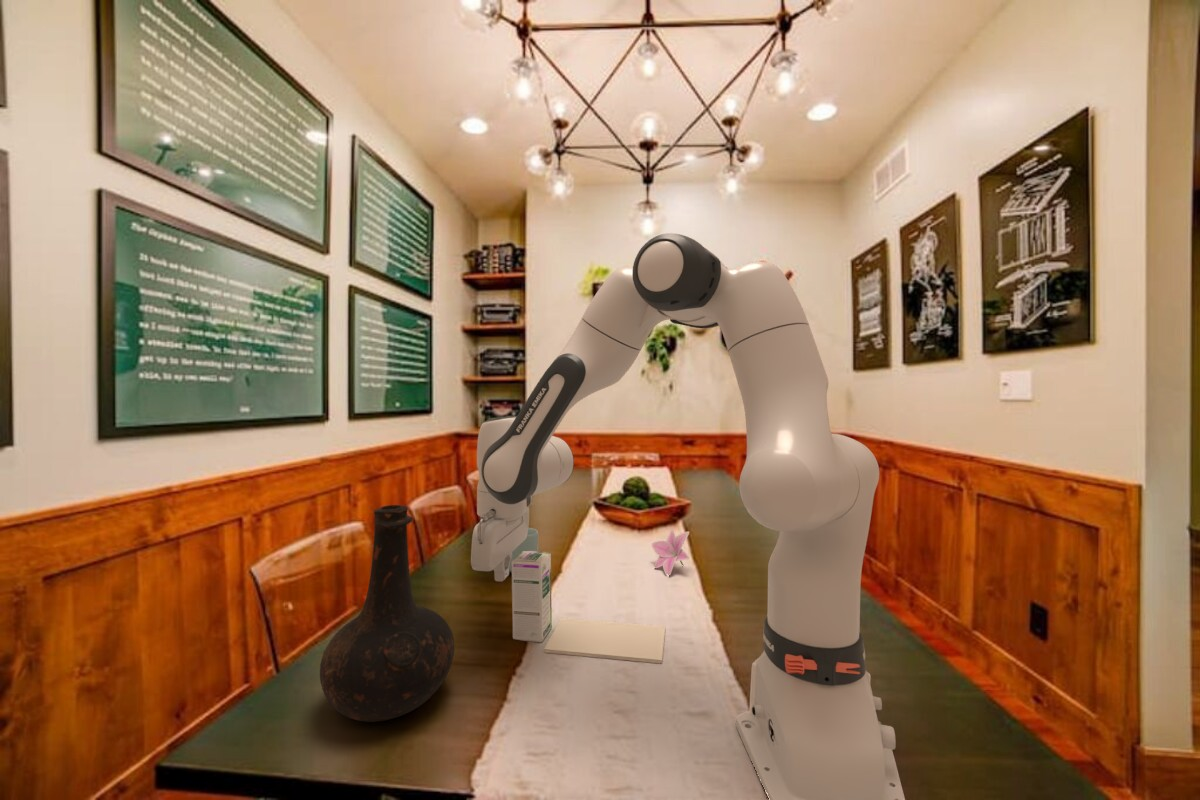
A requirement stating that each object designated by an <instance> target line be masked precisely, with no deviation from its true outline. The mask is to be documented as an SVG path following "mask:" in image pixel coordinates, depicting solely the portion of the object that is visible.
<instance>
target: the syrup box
mask: <svg viewBox="0 0 1200 800" xmlns="http://www.w3.org/2000/svg"><path fill="white" fill-rule="evenodd" d="M551 556H552V555H551V552H547V551H540V550H538V551H523V552H522V553H521V554H520V555H519V556H517V557H516V558H515V559H514V560H513V561H512V572H511V604H512V605H511V607H512V608H511V611H512V612H511V614H512V618H511V619H512V639H513V640H517V641H524V642H536V643H542V642H543V641H544V640H545V638H546V637H547V636H548V635H549V632H550V631H551V629H552V627H553V622H552V621H553V619H552V613H553V612H552V611H553V610H552V564H551V563H552V559H551V558H552V557H551Z"/></svg>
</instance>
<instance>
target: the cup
mask: <svg viewBox="0 0 1200 800" xmlns="http://www.w3.org/2000/svg"><path fill="white" fill-rule="evenodd" d="M523 551H539V531H538V529H536V528H533V527H528V534H527V537H526V539H525V540H524V541H523V542H522V543H521V544H520V545H519V546H518V547H517V548H516V549H515V550H513V551H512V558H511V562H510V566H509V573H512V561H513V560H514V559H515V558H516V557H517V556H519V555H520V554H521V553H522V552H523Z"/></svg>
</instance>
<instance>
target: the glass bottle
mask: <svg viewBox="0 0 1200 800" xmlns="http://www.w3.org/2000/svg"><path fill="white" fill-rule="evenodd" d="M408 510H409V509H408V506H406V505H401V504H389V505H384V506H381V507H378V508H376V509H374V510H373V514H374V518H373V521H374V523H373V525H374V533H373V547H372V548H373V549H372V559H371V560H372V561H371V569H370V575H369V576H370V577H369V582H368V588H367V592H366V595H365V596H366V597H365V601H364V604H363V607H362V609H361V611H360V613H359V615H358V616H355V618H353V619H351V620H350V621H348V622H347V623H346V624H345V625H343V626H342V627H341V628H340V629H339V630H338V631H337V632H336V633H335V634H334V635H333V637H332V638H330V640H329V642H328V644H327V645H326V647H325V649H324V651H323V654H322V657H321V661H320V664H319V665H320V666H319V680H320V685H321V689H322V692H323V695H324V697H325V698H326V700H327V702H328V703H329V704H330V706H331V707H332V708H333V709H335V710H336V711H337V712H338V713H340V715H342V716H344V717H346V718H349V719H351V720H355V721H359V722H370V723H371V722H373V723H374V722H384V721H385V722H386V721H388V720H392V719H395V718H396V719H397V718H398V717H401V716H404V715H406V714H408V713H411V712H412V711H414V710H416V709H417V708H419V707H420V706H422V705H423V704H425V703H426V702H427V701H428V700H429V699H430V698H431V697H432V696H433V695H434V694H435V693H436V692H437V690H438V689H439V688H440V686H441V685H442V684H443V683H444V681H445V679H446V677H447V676H448V673H449V672H450V669H451V667H452V665H453V664H452V663H453V659H454V656H455V639H454V634H453V632H452V629H451V627H450V625H449V624H448V622H447V620H446V619H445V618H443V617H442V616H441V615H440V614H438V613H437V612H435V610H432V609H430V608H428V607H423V606H419V605H417V603H416V602H415V599H414V596H413V595H414V594H413V591H412V585H411V584H412V583H411V576H410V575H411V574H410V566H409V564H410V563H409V549H408V529H407V527H408V525H409V524H410V523H412V522H413V520H414V518H413V517H412V516H410V515H408Z"/></svg>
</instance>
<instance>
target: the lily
mask: <svg viewBox="0 0 1200 800" xmlns="http://www.w3.org/2000/svg"><path fill="white" fill-rule="evenodd" d="M689 535H690V531H685V532H682V533H680V534H678V535H677V536H676V535H675V532H674V530H673V528H672V529H670V531H669V533H668V535H667V538H666V540H657V541H654V542H652V543H651V548H652V549H653V551H654V553H655V554H656V555H657V556H658V558H657V559H656V561H655V563H654V565H653V567H656V569H659V568H660V567H662V569H663V572H664V574H665V575H666V574H668V575H670V576H671V574H672V572H673V568H674V566H675V563H676V562H678V561H679V563H680V564H681V566H682V565H683V566H684V564H683V561H687V560H689V555H688V554H687V553H686V552H685V551H684V550H683V546H684V544H685V542H686V540H687V538H688V536H689Z"/></svg>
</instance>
